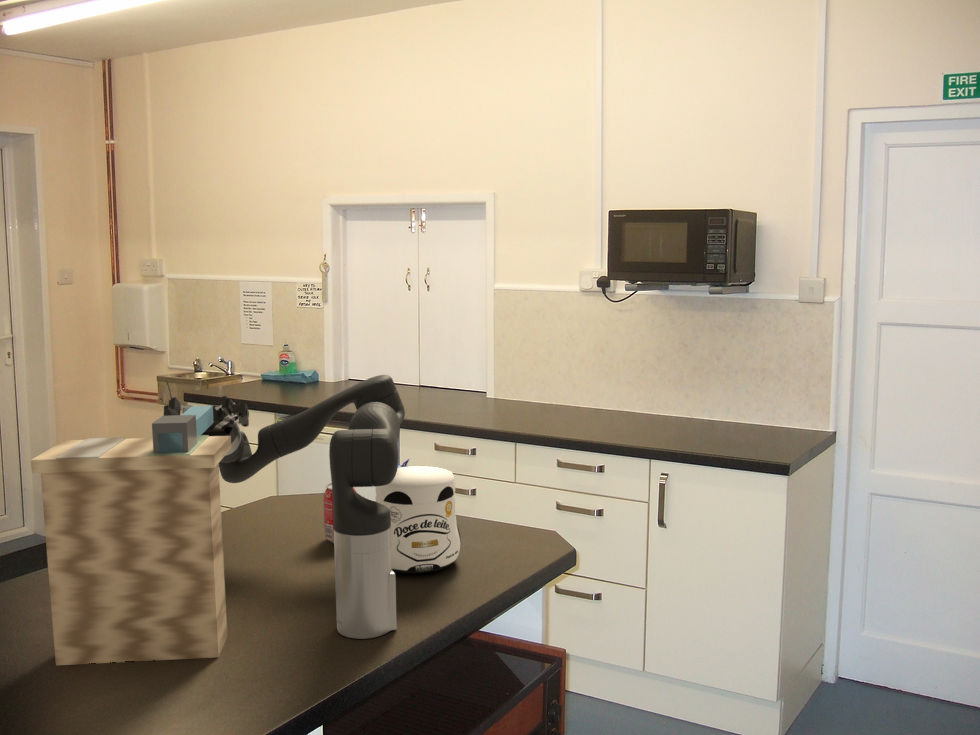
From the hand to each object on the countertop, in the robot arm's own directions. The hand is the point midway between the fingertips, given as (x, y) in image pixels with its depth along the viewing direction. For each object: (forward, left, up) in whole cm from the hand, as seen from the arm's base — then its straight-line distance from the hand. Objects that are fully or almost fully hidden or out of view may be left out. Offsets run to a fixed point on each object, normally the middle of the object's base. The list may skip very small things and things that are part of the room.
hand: (198, 401), depth 153 cm
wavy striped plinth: (+10, +14, -36) cm, 40 cm away
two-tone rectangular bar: (+2, +10, -4) cm, 11 cm away
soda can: (-29, -24, -36) cm, 52 cm away
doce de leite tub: (-40, -4, -36) cm, 54 cm away
